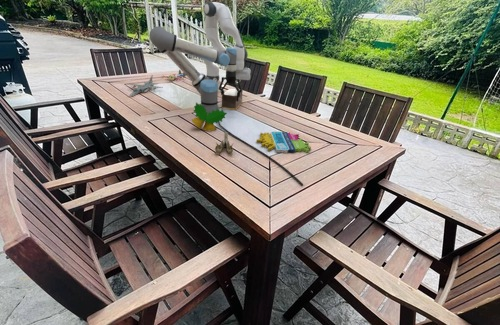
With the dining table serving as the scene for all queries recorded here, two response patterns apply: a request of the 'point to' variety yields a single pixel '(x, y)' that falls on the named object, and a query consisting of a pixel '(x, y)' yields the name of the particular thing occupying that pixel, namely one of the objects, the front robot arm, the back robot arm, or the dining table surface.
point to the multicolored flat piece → (283, 142)
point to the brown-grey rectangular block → (231, 99)
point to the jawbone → (224, 145)
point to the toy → (175, 76)
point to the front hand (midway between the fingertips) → (230, 100)
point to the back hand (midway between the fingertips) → (237, 84)
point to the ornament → (207, 117)
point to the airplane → (144, 87)
